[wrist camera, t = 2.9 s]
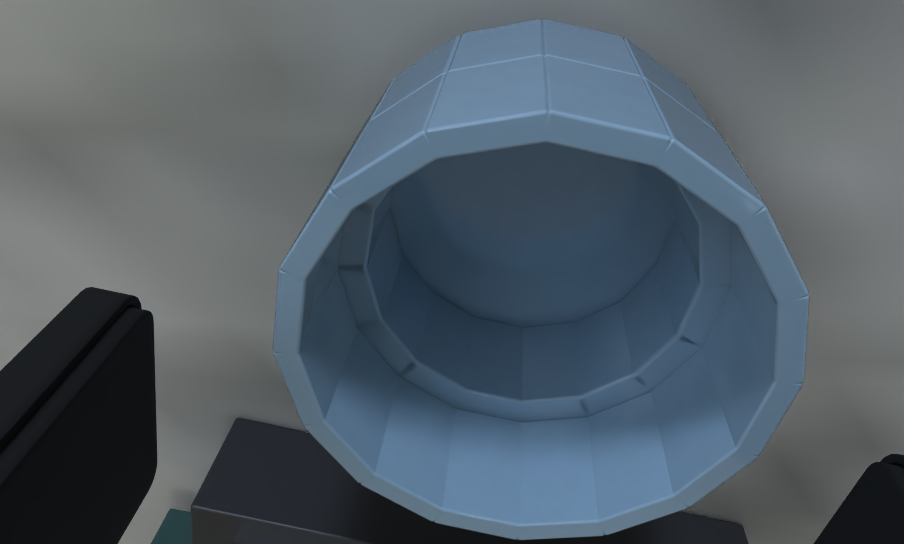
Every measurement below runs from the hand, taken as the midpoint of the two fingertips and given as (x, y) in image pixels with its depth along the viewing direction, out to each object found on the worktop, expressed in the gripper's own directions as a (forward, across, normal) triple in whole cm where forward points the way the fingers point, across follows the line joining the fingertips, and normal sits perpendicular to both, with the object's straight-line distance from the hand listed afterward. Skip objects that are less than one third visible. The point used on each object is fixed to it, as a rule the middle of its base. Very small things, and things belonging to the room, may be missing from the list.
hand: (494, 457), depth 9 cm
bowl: (+7, 0, -1) cm, 7 cm away
